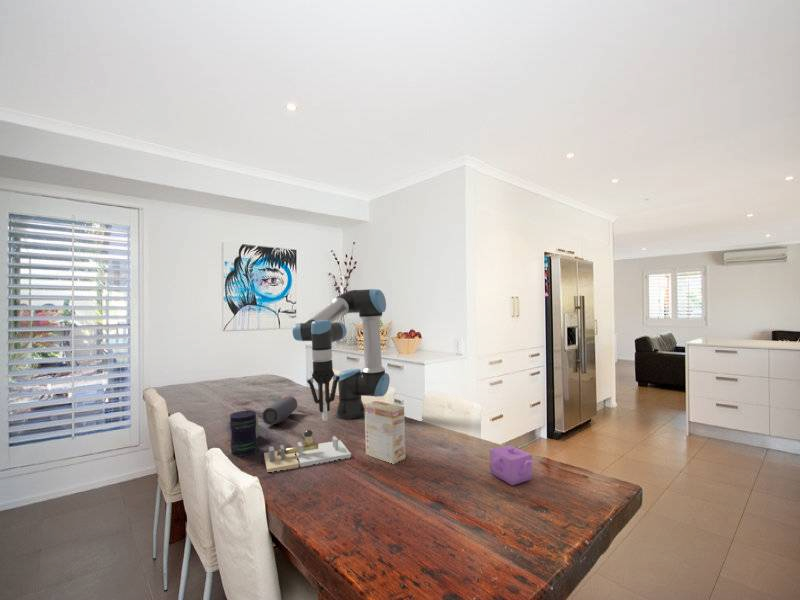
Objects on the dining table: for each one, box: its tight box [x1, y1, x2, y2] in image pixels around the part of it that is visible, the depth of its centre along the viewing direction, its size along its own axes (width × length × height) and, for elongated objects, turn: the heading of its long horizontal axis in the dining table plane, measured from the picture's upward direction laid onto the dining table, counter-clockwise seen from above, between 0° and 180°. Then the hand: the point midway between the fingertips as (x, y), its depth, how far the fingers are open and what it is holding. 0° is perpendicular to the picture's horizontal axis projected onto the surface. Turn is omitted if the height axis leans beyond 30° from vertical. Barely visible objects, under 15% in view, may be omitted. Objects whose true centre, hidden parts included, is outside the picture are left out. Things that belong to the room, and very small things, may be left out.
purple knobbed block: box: [489, 444, 534, 486], centre depth 127 cm, size 18×14×10 cm
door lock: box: [263, 435, 352, 473], centre depth 150 cm, size 30×16×6 cm, turn 113°
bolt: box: [276, 429, 319, 456], centre depth 149 cm, size 15×3×8 cm, turn 113°
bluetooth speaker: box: [261, 395, 298, 426], centre depth 198 cm, size 23×9×10 cm, turn 172°
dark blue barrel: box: [229, 410, 258, 457], centre depth 158 cm, size 10×10×15 cm
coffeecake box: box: [364, 400, 406, 465], centre depth 148 cm, size 15×7×20 cm, turn 47°
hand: (325, 419), depth 154 cm, fingers closed
